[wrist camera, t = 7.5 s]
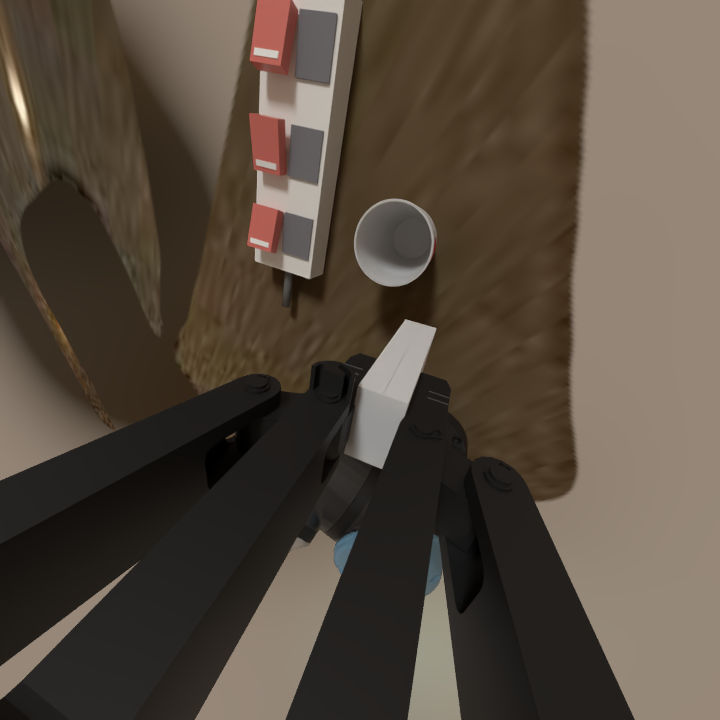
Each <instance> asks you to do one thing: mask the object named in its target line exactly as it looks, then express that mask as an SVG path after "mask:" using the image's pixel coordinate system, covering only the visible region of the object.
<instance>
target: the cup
mask: <svg viewBox="0 0 720 720" xmlns="http://www.w3.org/2000/svg"><path fill="white" fill-rule="evenodd" d="M436 243H437V234H436V229H435V226H434V223H433V221H432V219H431V218H430V216H429V215H428V214H427V213H426V212H425V211H424V210H423V209H421V208H420V207H418V206H416V205H415V204H413V203H411V202H409V201H406V200H402V199H388V200H384V201H381V202H379V203H377V204H375V205H374V206H372V207H371V208H370V209H369V210H368V211H367V212H366V213H365V214H364V215H363V217H362V218H361V220H360V222H359V224H358V226H357V229H356V232H355V238H354V249H355V255H356V258H357V261H358V263H359V265H360V267H361V269H362V270H363V272H364V273H365V274H366V275H367V276H368V277H369V278H370V279H372V280H373V281H375V282H376V283H379V284H381V285H385V286H392V287H394V286H402V285H405V284H408V283H410V282H412V281H413V280H415V279H416V278H417V277H419V276H420V275H421V274H422V273H423V271H424V270H425V269H426V267H427V266H428V264H429V262H430V261H431V259H432V257H433V255H434V252H435V249H436Z"/></svg>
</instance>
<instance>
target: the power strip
mask: <svg viewBox="0 0 720 720" xmlns="http://www.w3.org/2000/svg"><path fill="white" fill-rule="evenodd" d="M293 2H294V4H295V6H296V7H297V9H298V16H297V22H296V28H295V34H294V41H293V47H292V53H291V59H290V65H289V71H288V75H283V74H277V73H271V72H265V71H260V100H259V114H262V115H266V116H271V117H276V118H281V119H285V135H286V172H287V174H286V175H282V176H278V175H274V174H271V173H267V172H263V171H259V170H257V204H260V205H263V206H267V207H270V208H274V209H277V210H280V211H282V212H284V215H283V220H282V226H281V231H280V237H279V242H278V248H277V253H276V254H275V253H270V252H267V251H264V250H260V249H257V248H255V261H256V262H259V263H262V264H265V265H268V266H271V267H274V268H277V269H280V270H283V271H285V277H284V289H283V302H282V306H283V307H290V302H291V291H292V281H293V274H296V275H299V276H302V277H305V278H308V279H312V278H314V277H317V276H320V275H322V274H323V270H324V263H325V256H326V249H327V243H328V236H329V229H330V222H331V215H332V209H333V202H334V195H335V188H336V181H337V175H338V168H339V161H340V154H341V147H342V141H343V134H344V127H345V120H346V113H347V106H348V100H349V93H350V86H351V79H352V72H353V66H354V59H355V52H356V45H357V38H358V32H359V25H360V18H361V11H362V4H363V3H362V1H361V0H293Z"/></svg>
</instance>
